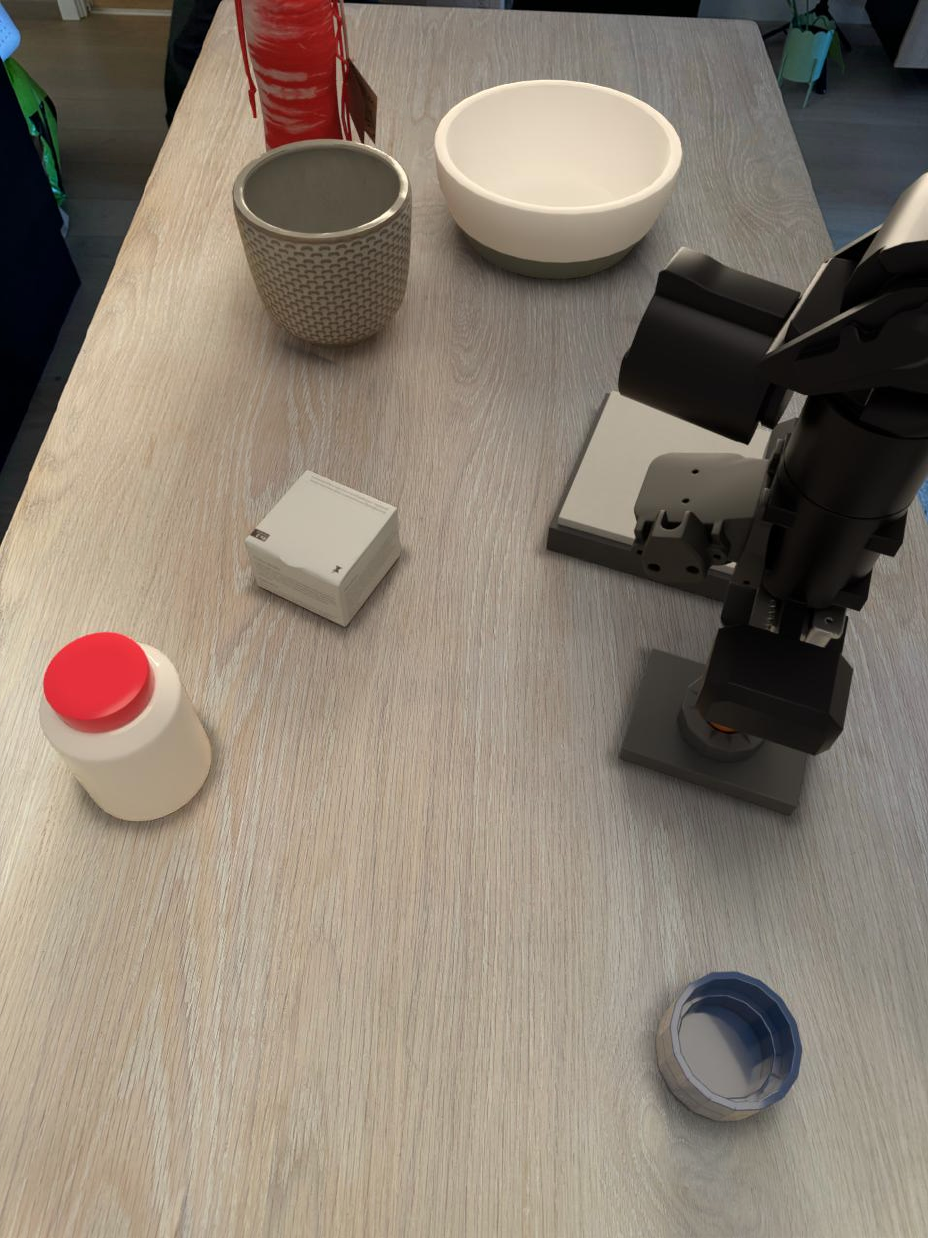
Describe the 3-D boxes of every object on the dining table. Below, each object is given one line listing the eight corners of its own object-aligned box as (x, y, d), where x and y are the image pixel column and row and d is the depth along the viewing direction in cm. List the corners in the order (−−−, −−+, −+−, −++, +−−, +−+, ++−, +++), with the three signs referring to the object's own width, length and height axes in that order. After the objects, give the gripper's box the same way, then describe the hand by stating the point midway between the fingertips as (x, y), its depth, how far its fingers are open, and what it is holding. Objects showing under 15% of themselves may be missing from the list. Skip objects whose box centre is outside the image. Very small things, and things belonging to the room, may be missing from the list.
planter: (393, 388, 79) (385, 251, 68) (235, 362, 81) (203, 224, 70) (432, 287, 87) (430, 149, 76) (287, 265, 88) (265, 127, 78)
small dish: (785, 1017, 52) (811, 998, 48) (763, 1142, 48) (789, 1132, 44) (670, 974, 53) (687, 952, 49) (641, 1093, 49) (657, 1079, 46)
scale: (797, 467, 75) (810, 437, 72) (761, 613, 67) (775, 585, 64) (601, 415, 78) (607, 384, 75) (545, 548, 70) (549, 519, 67)
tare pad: (811, 709, 62) (826, 686, 60) (790, 816, 58) (805, 796, 56) (649, 658, 64) (657, 634, 62) (617, 758, 60) (625, 736, 58)
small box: (403, 553, 69) (401, 507, 65) (345, 631, 65) (338, 587, 61) (315, 513, 71) (306, 465, 67) (253, 586, 67) (240, 541, 63)
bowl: (605, 328, 84) (619, 244, 77) (390, 249, 90) (385, 164, 83) (700, 202, 95) (720, 118, 88) (503, 139, 101) (507, 56, 94)
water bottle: (394, 193, 95) (379, -105, 74) (382, 240, 91) (363, -62, 70) (276, 184, 96) (229, -113, 75) (259, 231, 91) (203, -72, 70)
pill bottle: (85, 832, 57) (16, 751, 48) (87, 721, 61) (23, 626, 52) (215, 808, 58) (171, 724, 49) (208, 700, 62) (166, 604, 53)
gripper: (712, 297, 47) (656, 504, 60) (611, 576, 37) (570, 752, 50) (942, 352, 45) (833, 554, 58) (900, 662, 35) (779, 823, 48)
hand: (754, 659), depth 54 cm, fingers closed
